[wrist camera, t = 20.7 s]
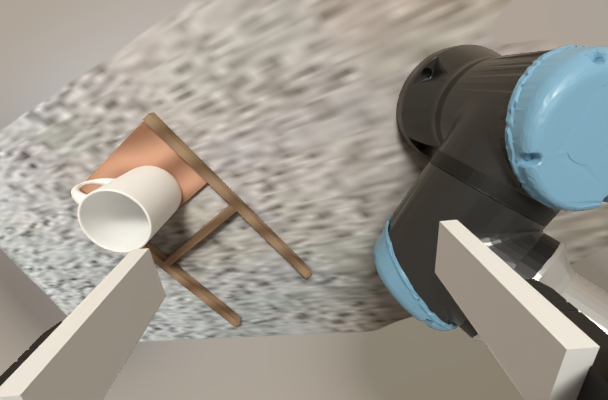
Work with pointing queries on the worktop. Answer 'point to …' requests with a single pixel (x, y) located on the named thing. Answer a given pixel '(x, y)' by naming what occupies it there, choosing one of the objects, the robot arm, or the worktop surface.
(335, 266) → the worktop surface
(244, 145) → the worktop surface
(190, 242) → the flat wooden frame
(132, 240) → the mug
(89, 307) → the robot arm
